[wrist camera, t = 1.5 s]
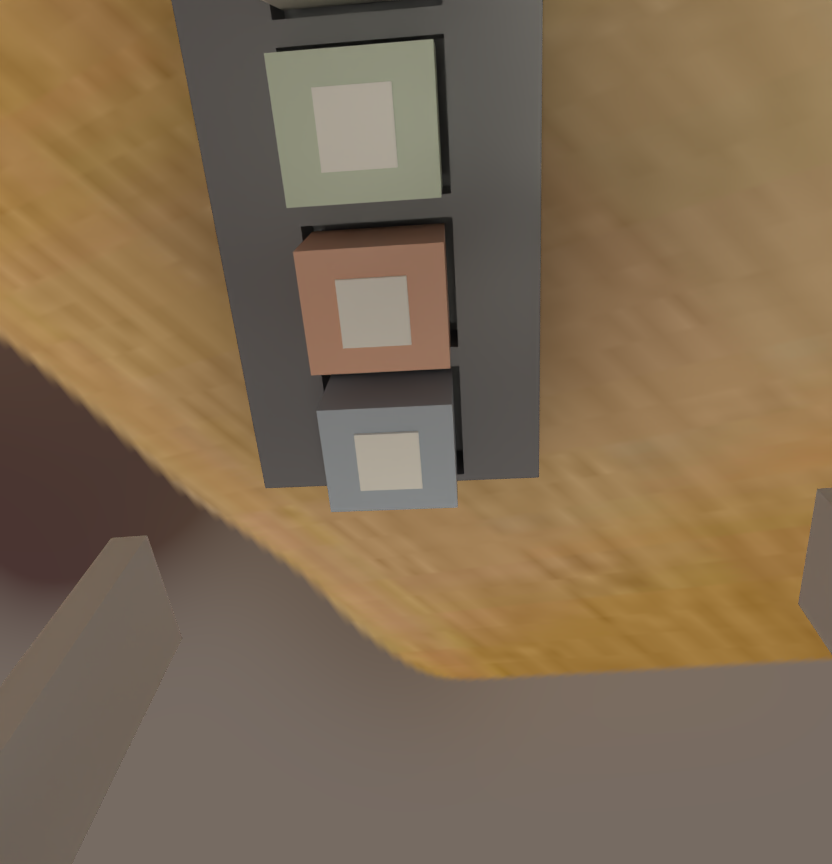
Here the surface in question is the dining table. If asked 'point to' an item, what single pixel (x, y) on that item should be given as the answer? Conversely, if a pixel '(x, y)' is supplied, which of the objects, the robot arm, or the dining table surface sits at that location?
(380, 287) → the key
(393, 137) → the key
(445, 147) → the keypad
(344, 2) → the key
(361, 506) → the key
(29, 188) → the dining table surface
